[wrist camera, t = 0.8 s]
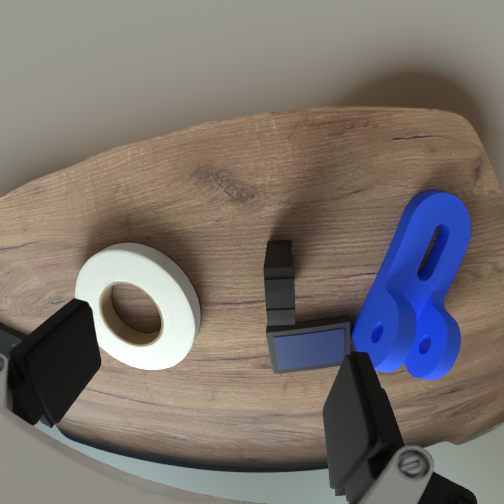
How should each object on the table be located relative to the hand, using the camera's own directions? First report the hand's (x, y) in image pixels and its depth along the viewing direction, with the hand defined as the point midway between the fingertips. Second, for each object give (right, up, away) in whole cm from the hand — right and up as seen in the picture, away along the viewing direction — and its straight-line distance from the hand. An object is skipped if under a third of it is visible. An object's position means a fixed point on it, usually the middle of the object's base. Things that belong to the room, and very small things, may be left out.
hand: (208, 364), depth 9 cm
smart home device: (-42, -14, +29) cm, 53 cm away
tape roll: (-12, -2, +23) cm, 26 cm away
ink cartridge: (+4, +3, +19) cm, 20 cm away
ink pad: (+8, -6, +22) cm, 24 cm away
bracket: (+19, +2, +18) cm, 27 cm away
